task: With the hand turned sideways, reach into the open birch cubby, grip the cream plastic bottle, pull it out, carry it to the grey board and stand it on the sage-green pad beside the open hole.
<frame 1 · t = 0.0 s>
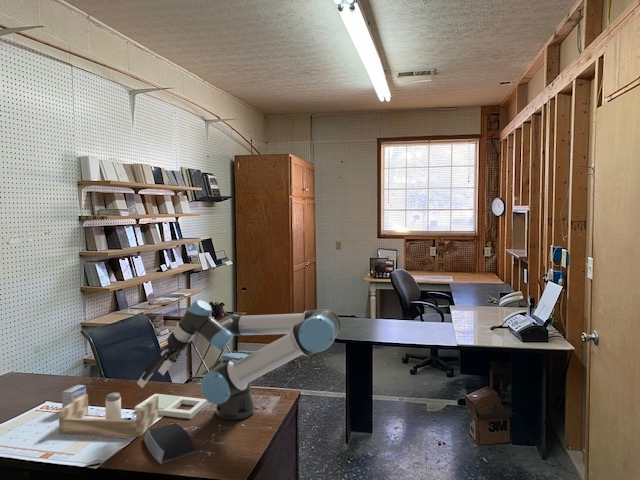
hand: (150, 378, 167), 15 cm above the table, tool tilted 35°, fingers open, 13 cm apart
medicine box: (74, 410, 174), on the table
cream bottle: (113, 422, 164), on the table
cubby: (113, 422, 164), on the table
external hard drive: (169, 447, 148), on the table
hole board: (172, 408, 177), on the table
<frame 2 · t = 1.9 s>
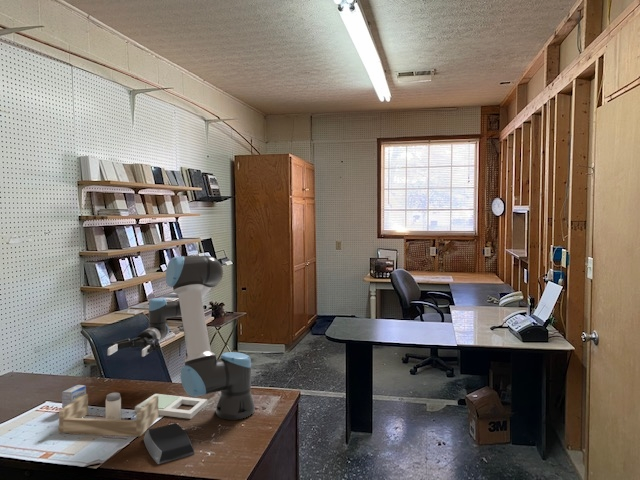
hand: (125, 352, 172), 23 cm above the table, tool horizontal, fingers open, 13 cm apart
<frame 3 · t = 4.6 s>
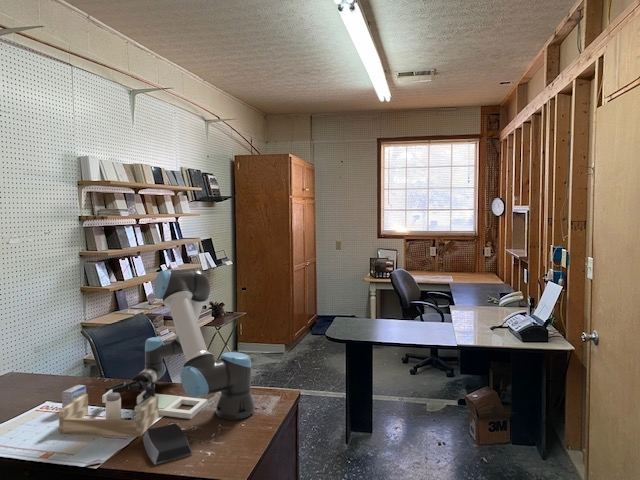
hand: (120, 400, 170), 6 cm above the table, tool horizontal, fingers open, 13 cm apart
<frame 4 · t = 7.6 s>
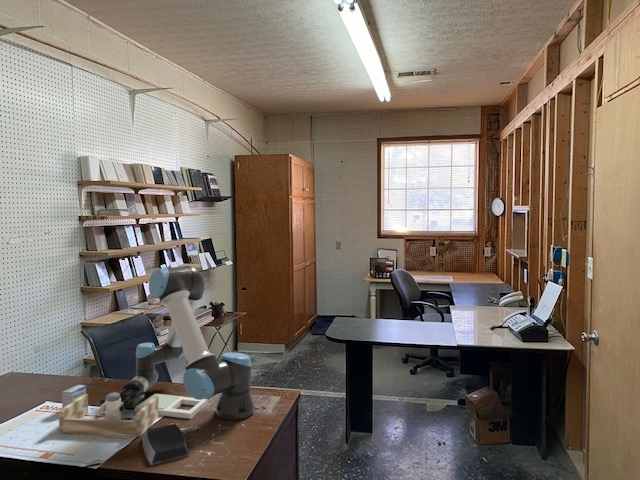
hand: (105, 412, 158), 6 cm above the table, tool horizontal, fingers closed on cream bottle, 5 cm apart
cream bottle: (113, 422, 164), on the table, touching gripper
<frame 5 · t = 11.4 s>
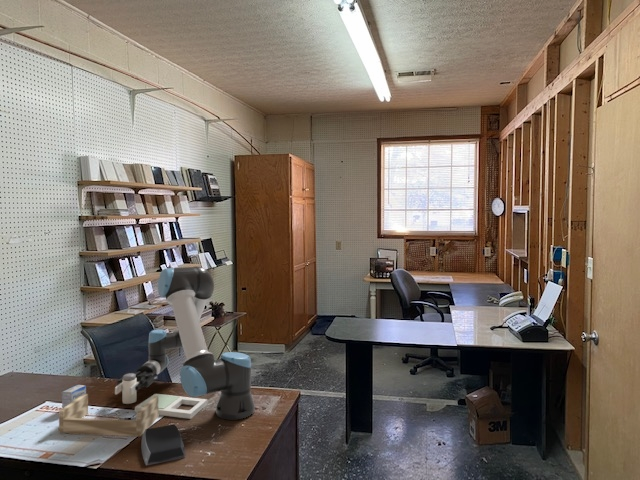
hand: (123, 391, 171), 9 cm above the table, tool horizontal, fingers closed on cream bottle, 5 cm apart
cream bottle: (129, 401, 176), point 3 cm above the table, touching gripper
when the fingers open (10 cm above the table, at t = 15.2 s): cream bottle drops 1 cm, resting on hole board.
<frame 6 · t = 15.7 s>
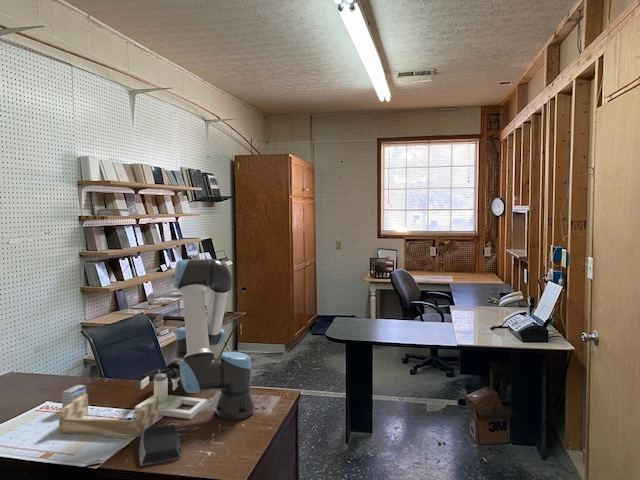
hand: (157, 386, 174), 10 cm above the table, tool horizontal, fingers open, 12 cm apart
cream bottle: (160, 400, 178), point 2 cm above the table, touching hole board
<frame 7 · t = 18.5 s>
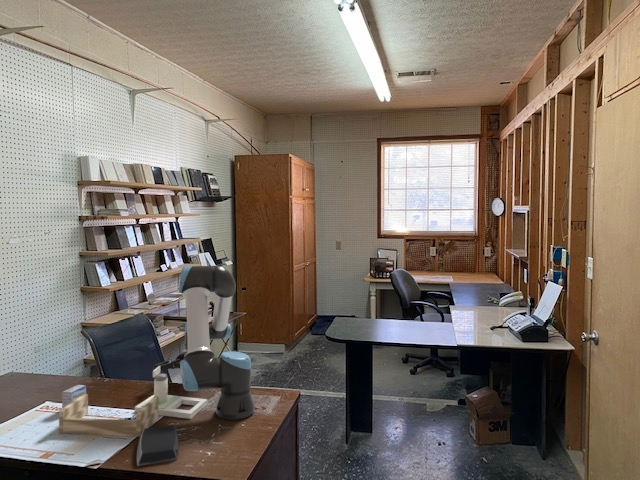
hand: (169, 374, 187), 10 cm above the table, tool horizontal, fingers open, 13 cm apart
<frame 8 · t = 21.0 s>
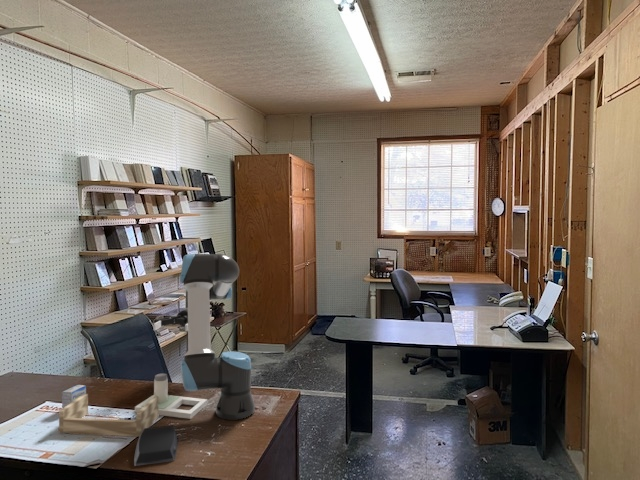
hand: (170, 327, 187), 30 cm above the table, tool horizontal, fingers open, 13 cm apart
at the end: cream bottle inside the target area on the hole board (0.3 cm from its centre), point 2.3 cm above the hole board's base; cream bottle tilted 0°; the gripper is holding nothing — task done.
